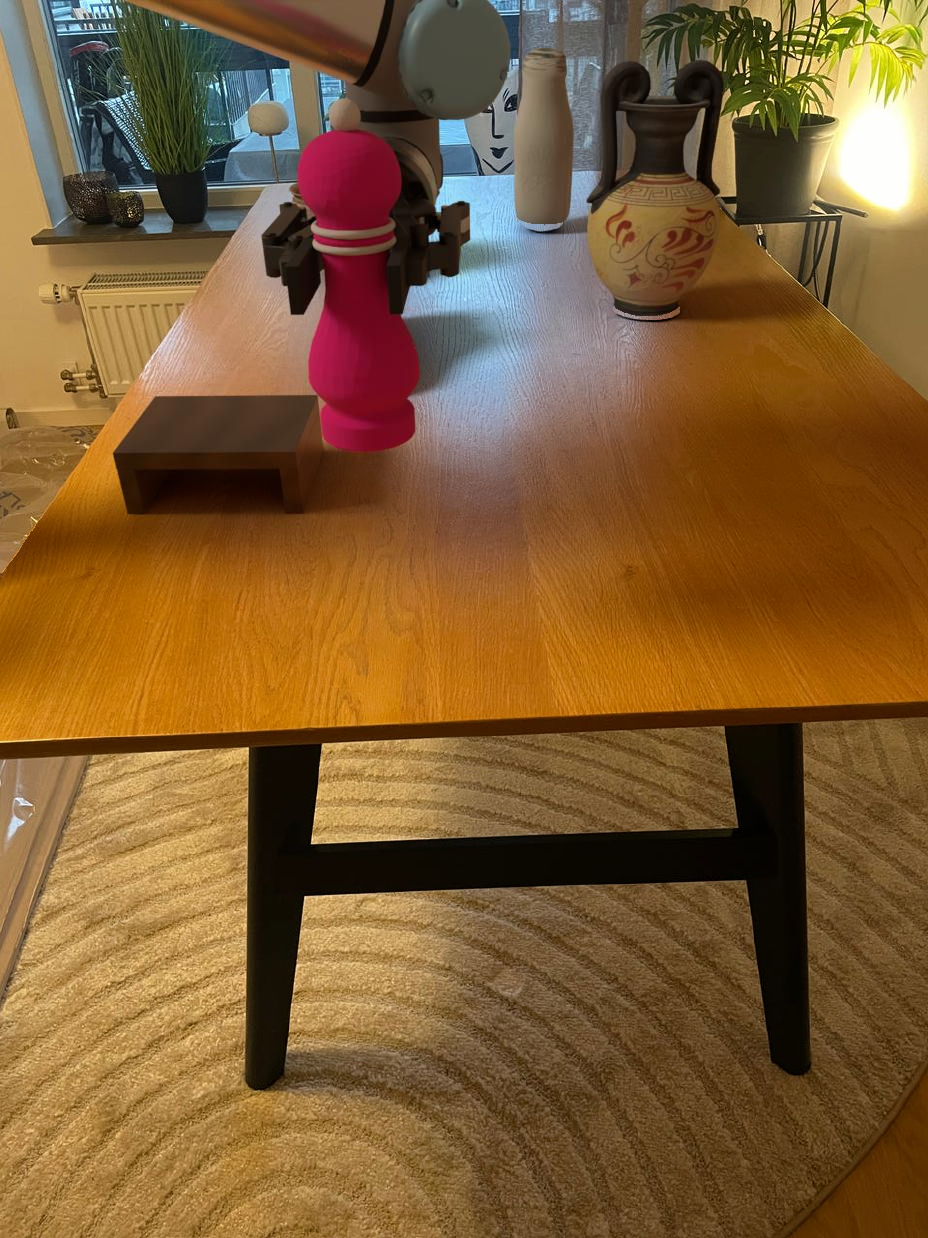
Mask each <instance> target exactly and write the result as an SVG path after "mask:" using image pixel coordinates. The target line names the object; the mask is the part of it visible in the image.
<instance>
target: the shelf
mask: <svg viewBox="0 0 928 1238" xmlns="http://www.w3.org/2000/svg"><path fill="white" fill-rule="evenodd" d="M319 404H320V403H319V396H318V395H317V394H291V395H290V394H276V395H275V394H274V395H272V394H271V395H270V394H268V395H264V394H263V395H262V394H261V395H260V394H259V395H258V394H257V395H256V394H255V395H251V394H249V395H155V396H154V397H153V399H152V400H151V401H150V403H149V404H148V405H147V406H146V408H145V409H144V411H143V412H142V413H141V414H140V416H139V417H138V418H137V420H136V421H135V422H134V424H133V425H132V427H130V429H129V430H128V432H127V433H126V434H125V436H124V437H123V438H122V440H121V441H120V442H119V444H118V445H117V447H116V448H115V449H114V450H113V452H112V456H113V461H114V464H115V469H116V472H117V476H118V481H119V483H120V489H121V492H122V497H123V500H124V504H125V508H126V513H127V514H128V515H129V514H135V515H136V514H145V513H146V512H147V510H148V508H149V507H150V505H151V504H152V502H153V500H154V499H155V497H156V496H157V494H158V493H159V491H160V489H161V488H162V486H163V485H164V483H165V481H166V479H167V478H168V476H169V475H170V473H171V471H172V470H267V469H268V470H269V469H270V470H271V469H273V470H274V469H275V470H276V469H277V470H279V476H280V483H281V490H282V498H283V504H284V512H285V514H303V513H304V510H305V508H306V505H307V501H308V499H309V496H310V493H311V490H312V487H313V484H314V482H315V478H316V476H317V472H318V470H319V466H320V464H321V460H322V457H323V454H324V452H325V451H324V450H325V449H324V442H323V440H324V439H323V435H322V426H321V417H320V405H319Z"/></svg>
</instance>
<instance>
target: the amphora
mask: <svg viewBox="0 0 928 1238" xmlns="http://www.w3.org/2000/svg"><path fill="white" fill-rule="evenodd" d="M724 86H725V85H724V78H723V74H722V73H721V71H720V69H719V68H718V67H717V66H716V65H715V64H714V63H712V62H711V61H708V60H705V59H696V60H692V61H689V62H688V63H686V64H684V65H683V66H682V67H681V68H680V69H679V70H678V73H677V74H676V76H675V78H674V85H673V91H674V95H669V94H668V95H650V93H651V90H652V81H651V74H650V72H649V70H648V69H647V68H646V67H645V66H644V65H643V64H642V63H639V62H638V61H632V60H627V61H623V62H620V63H618V64H615V65H614V66H613V67H612V68H611V69H610V70H609V71H608V73H607V74H606V76H605V78H604V79H603V82H602V85H601V93H600V117H601V118H600V119H601V140H602V141H601V142H602V146H601V147H602V156H601V157H602V158H601V159H602V160H601V164H602V165H601V173H600V179H599V181H598V184H597V185H596V186H595V187H594V189H593V190H592V191H591V192H590V194H589V195H588V197H587V198H586V204H591V206H590V209H589V211H588V216H587V224H586V225H587V227H586V231H587V233H586V234H587V235H586V236H587V245H588V246H587V247H588V252H589V255H590V258H591V261H592V264H593V268H594V269H595V272H596V274H597V276H598V278H599V280H600V281H601V282H602V284H603V285H604V286H605V287H606V289H607V290H608V291H609V292H610V293H611V295H612V297H613V300H614V301H613V304H614V306H615V308H616V309H618V310H620V311H622V312H624V313H628V314H631V315H635V316H658V315H659V316H660V315H663V314H667V313H670V312H672V311H674V310H676V309H677V308H678V307H679V306H680V305H679V302H680V301H679V300H680V299H681V297H682V296H683V295H684V294H685V293H687V291H689V290H690V289H691V288H693V287H694V285H695V284H696V283H697V282H698V281H699V280H700V278H701V277H702V275H703V274H704V273H705V271H706V270H707V267H708V265H709V264H710V262H711V259H712V257H713V255H714V252H715V250H716V247H717V242H718V239H719V234H720V221H721V220H720V219H721V218H720V216H721V214H720V213H721V212H720V207H719V203H718V200H717V198H716V197H717V196H718V195H720V194H721V189H720V187H718V185H717V184H716V182H715V181H714V180H713V162H714V161H713V160H714V155H715V150H716V143H717V137H718V132H719V126H720V125H719V124H720V119H721V112H722V106H723V99H724V90H725V87H724ZM703 109H704V113H703V114H704V115H703V121H702V126H701V131H700V132H701V133H700V139H699V144H698V145H699V146H698V151H697V160H696V171H695V178H694V177H692V176H691V175H690V174H689V173H688V172H687V171H686V167H685V161H684V160H685V159H684V157H685V156H684V154H685V153H684V146H685V141H686V137H687V135H689V133H690V132H691V130H692V129H693V128H694V126H695V124H696V122H697V119H698V115H699V113H700V111H701V110H703ZM617 112H624V113H625V121H626V124H627V127H628V128H629V129H630V130H631V131H632V132H633V135H634V141H635V143H634V144H635V146H634V152H633V153H634V154H633V159H632V163H631V166H630V168H629V170H628V171H627V172H626V173H625V174H623V175H621V176H620V177H618V178H617V174H618V173H617V171H618V154H619V153H618V151H619V150H618V123H617V120H618V119H617Z"/></svg>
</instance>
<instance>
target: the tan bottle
mask: <svg viewBox="0 0 928 1238" xmlns="http://www.w3.org/2000/svg"><path fill="white" fill-rule="evenodd" d="M567 75H568V68H567V56H566V55H565V54H564V52H562V51H561V50H558V49H556V48H552V47H537V48H533V49H531V50H530V51H529V52H527V54H526V55H525V56H524V59H523V63H522V67H521V79H522V89H521V90H522V91H521V97H520V103H519V106H518V110H517V115H516V120H515V125H514V131H513V162H514V163H513V165H514V167H513V168H514V188H513V189H514V191H513V192H514V196H513V197H514V210H515V216H516V218H518V219H519V220H521V221H524V222H527V223H531V224H544V225H545V224H557V223H562V222H564V221H565V220H566V221H567V220H568V217H569V216H570V211H571V203H572V187H573V169H574V168H573V166H574V147H575V146H574V145H575V129H574V120H573V115H572V110H571V107H570V102H569V97H568V89H567V82H566V78H567ZM518 219H517V220H518ZM519 220H518V221H519ZM566 221H565V222H566ZM565 222H564V223H565Z"/></svg>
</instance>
